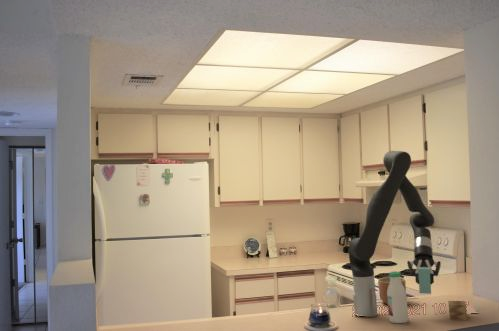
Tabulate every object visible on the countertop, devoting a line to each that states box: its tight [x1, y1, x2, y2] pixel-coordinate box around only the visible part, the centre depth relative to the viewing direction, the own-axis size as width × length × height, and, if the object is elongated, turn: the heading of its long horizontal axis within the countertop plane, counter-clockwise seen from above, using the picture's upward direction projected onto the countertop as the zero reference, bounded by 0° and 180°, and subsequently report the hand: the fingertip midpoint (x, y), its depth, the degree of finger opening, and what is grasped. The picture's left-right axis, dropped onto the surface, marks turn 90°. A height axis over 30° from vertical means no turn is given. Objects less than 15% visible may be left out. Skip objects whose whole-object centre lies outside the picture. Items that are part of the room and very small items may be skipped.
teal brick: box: [418, 267, 432, 295], centre depth 205 cm, size 4×4×10 cm
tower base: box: [447, 300, 468, 321], centre depth 201 cm, size 6×6×6 cm
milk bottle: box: [387, 271, 409, 324], centre depth 202 cm, size 8×8×20 cm
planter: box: [377, 276, 407, 305], centre depth 230 cm, size 12×12×11 cm
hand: (424, 283), depth 203 cm, fingers closed on teal brick, 4 cm apart
